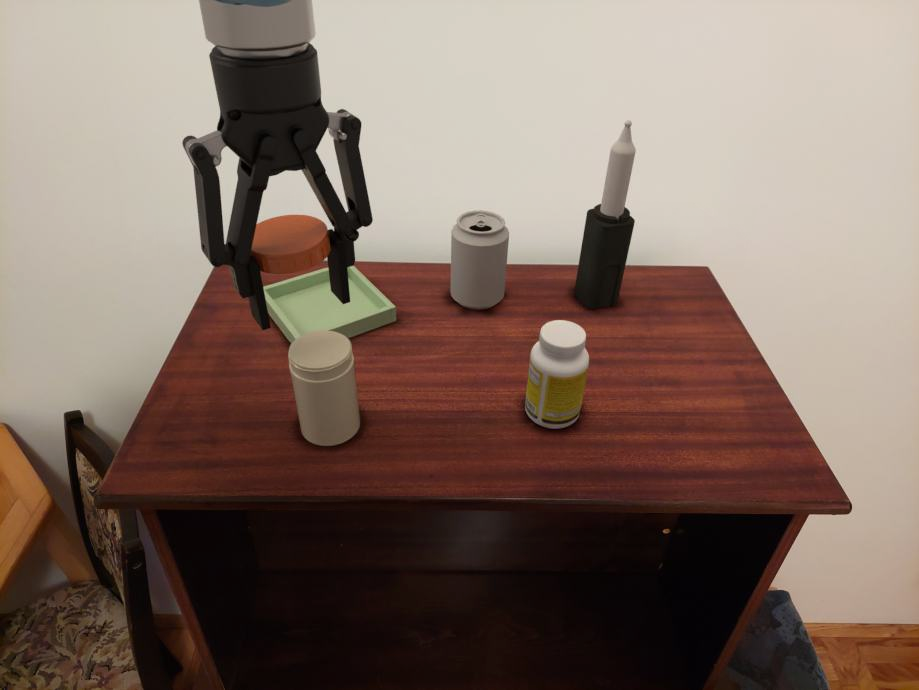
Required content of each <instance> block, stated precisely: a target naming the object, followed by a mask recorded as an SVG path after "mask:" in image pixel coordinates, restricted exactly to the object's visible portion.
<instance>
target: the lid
mask: <svg viewBox="0 0 919 690" xmlns="http://www.w3.org/2000/svg"><path fill="white" fill-rule="evenodd" d="M328 230H329V229H328V226H327V224H326V223H325V222H324V221H323V220H322V219H320V218H318V217H315V216H311V215H306V214H286V215H278V216H274V217H271V218H267V219H264V220H263V221H260V222H257V224H256V229H255V234H254V239H253V244H252V248H251V253H250V256H252V257H253V258H254V259H255V261H256V262H257V263H258V264H259V268H260V272H261V273H265V274H272V275H289V274H295V273H300V272H304V271H306V270H309V269H312V268H315V267H316V266H317V265H319V264H320V263H322V262H324V261H325V260H326V259H327V256H328V255H329V252H330V251H331V247H330V241H329V231H328Z"/></svg>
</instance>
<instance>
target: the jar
mask: <svg viewBox="0 0 919 690" xmlns="http://www.w3.org/2000/svg"><path fill="white" fill-rule="evenodd" d="M287 358H288V369H289V373H290V374H289V375H290V379H291V384H292V385H291V386H292V390H293V395H294V401H295V407H296V412H297V418H298V423H299V427H300V432H301V435H302V437H303V438H304V439H306V441H308V442H309V443H311V444H313V445H316V446H321V447H331V446H337V445H341V444H344V443H346V442H347V441H349V440H350V439H352V438H353V437H355V435H356V434H357V433H358V431H359V429H360V426H361V413H360V404H359V396H358V384H357V374H356V364H355V357H354V354H353V345H352V342H351V340H350V338H347V337H346V336H344V335H343V334H341V333H338V332H334V331H328V330H320V331H313V332H309V333H306V334H304V335H302V336H300V337H298V338H297V339H296V340H295V341H294V342H293V343H292V344H291V343H290V345H289V349H288V354H287Z"/></svg>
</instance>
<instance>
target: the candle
mask: <svg viewBox="0 0 919 690" xmlns="http://www.w3.org/2000/svg"><path fill="white" fill-rule="evenodd" d="M623 124H624V127H623V129H622V131H621V133H620V134H619V137H618V139H617V140H616V141H615V142H614V143H613V144H612V145H611V147H610V152H609V158H608V163H607V169H606V175H605V181H604V186H603V192H602V197H601V203H599V204H596V205H594V206H593V208H590V209H588V210H587V211H586V217H585V223H584V228H583V234H582V241H581V246H580V253H579V260H578V266H577V273H576V277H575V284H574V290H573V295H574V297H575V298H576V299H577V300H578V301H579V303H580V304H581V305H582V306H583V308H585V309H586V310H591V311H596V310H597V309H602V308H607V307H611V308H612V307H615V306H617V305H618V301H619V299H620V298H619V297H620V294H621V293H620V292H621V287H622V284H623V279H624V274H625V269H626V265H627V260H628V256H629V250H630V246H631V241H632V237H633V232H634V227H635V223H636V220H635V218H634V217H633V216H631V212H630V210H629V209H628V208H627V207H626V201H627V197H628V192H629V187H630V181H631V176H632V172H633V166H634V162H635V158H636V157H635V156H636V153H637V152H636V151H637V150H636V146H635V145H634V144H635V143H634V142H633V139H632V128H631V127H632V125H633V123H632V121H631V120H630V119H626V120H625V121H624V123H623Z"/></svg>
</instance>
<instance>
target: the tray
mask: <svg viewBox="0 0 919 690" xmlns="http://www.w3.org/2000/svg"><path fill="white" fill-rule="evenodd" d="M347 271H348V281H349V292H350V302H349V303H346V304H342V302H341V301H340V300H339V299H338V298H337V297H336V296H335V295H334V294H333V293H332V291H331V287H330V278H329V269H328V266H327V267H324V268H320V269H318V270H314V271H311V272H308V273H305V274H300V275H298V276H294V277H291V278H287V279H284V280H281V281H278V282H275V283H272V284H268V285H263V289H264V294H265V299H266V305H267V310H268V315H269V317H270V318H271V319H272V320H273V322H274V324H276V326H277V327H278V329H279V330H280V331H281V332H282V334H283V335H284V336H285V338H286V339H287V340H288V342H289V343H290V345H291V344H292V343H293V342H294V341H295V340H296V339H297V338H298V337H300V336H302V335H304V334H306V333H309V332H313V331H320V330H328V331H334V332H338V333H341V334H343V335H344V336H346V337H347V338H348V339H350V338H353V337H356V336H359V335H361V334H364V333H367V332H370V331H373V330H375V329H379V328H381V327H383V326H386V325H389V324H392V323H395V322H397V307H396V305H395V304H394V303H392V302H391V300H390V299H389V298H388V297H387V296H385V294H384V293H383V292H382V291H380V290H379V289H378V288H377V287H376V286H375V285H374V284H373V283H372V282H371V281H370V280H369V279H368V278H367V277H366V276H365V275H364V274H363V273H362V272H361V271H360V270H359V269H358V268H357V267H356V266H355V265H354V266H350V267H347Z"/></svg>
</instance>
